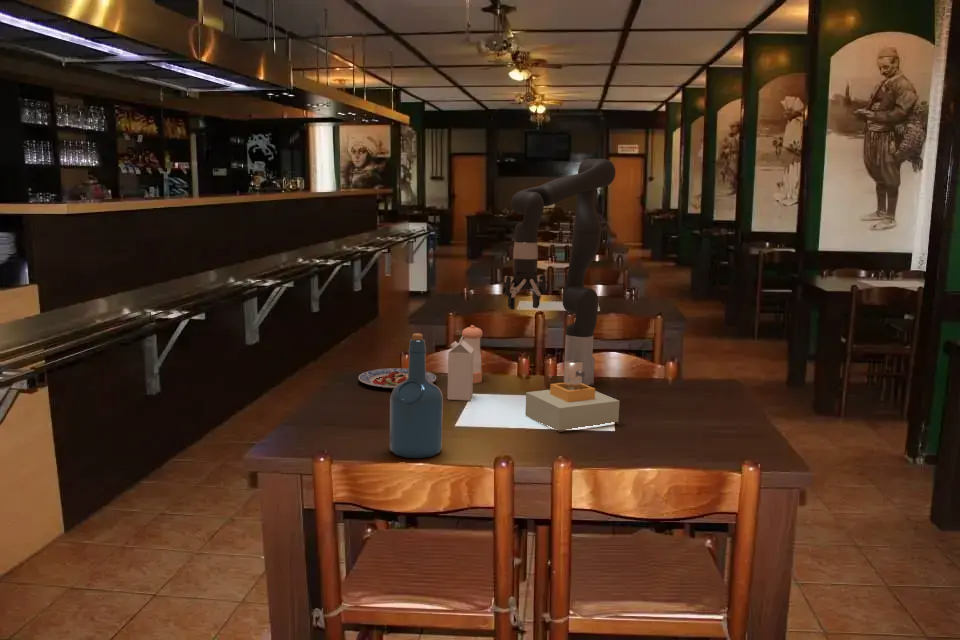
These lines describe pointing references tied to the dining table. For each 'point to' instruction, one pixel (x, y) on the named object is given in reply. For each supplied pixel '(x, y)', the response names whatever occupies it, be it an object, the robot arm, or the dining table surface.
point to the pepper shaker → (473, 339)
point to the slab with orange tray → (571, 407)
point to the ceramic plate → (389, 377)
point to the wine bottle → (416, 409)
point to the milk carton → (460, 371)
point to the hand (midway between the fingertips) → (523, 308)
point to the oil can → (573, 375)
